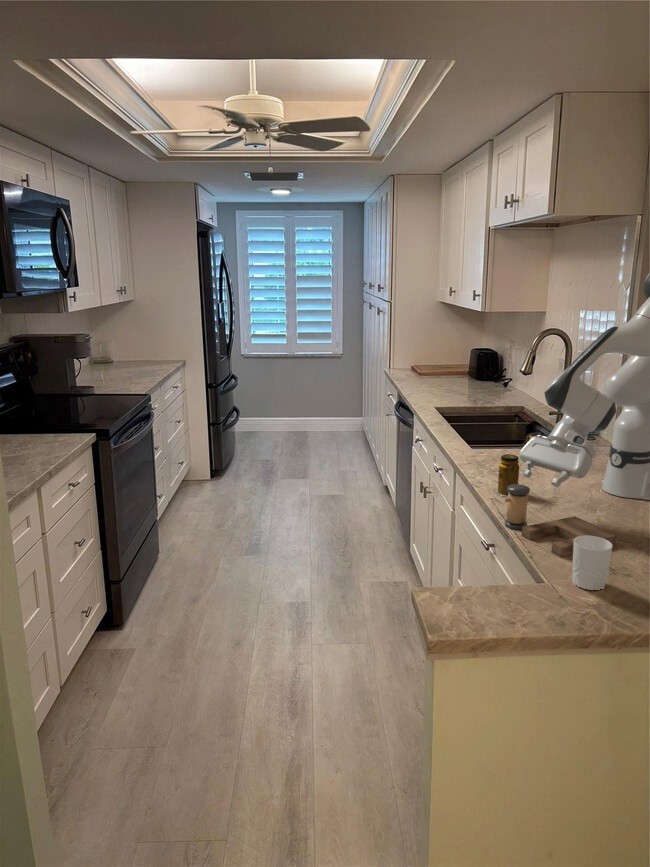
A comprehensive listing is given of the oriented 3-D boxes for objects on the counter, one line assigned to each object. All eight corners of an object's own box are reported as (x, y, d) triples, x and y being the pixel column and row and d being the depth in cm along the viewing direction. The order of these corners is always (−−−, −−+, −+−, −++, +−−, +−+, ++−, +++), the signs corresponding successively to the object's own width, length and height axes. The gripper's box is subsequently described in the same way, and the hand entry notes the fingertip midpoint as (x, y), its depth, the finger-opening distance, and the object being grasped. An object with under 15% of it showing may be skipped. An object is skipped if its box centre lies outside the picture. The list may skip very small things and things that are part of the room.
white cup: (615, 589, 137) (620, 547, 134) (585, 595, 135) (589, 552, 132) (591, 573, 144) (595, 533, 142) (562, 578, 142) (566, 537, 140)
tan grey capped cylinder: (517, 520, 175) (519, 483, 173) (531, 527, 170) (534, 489, 167) (496, 524, 173) (499, 486, 170) (510, 532, 167) (513, 493, 165)
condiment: (493, 489, 200) (495, 453, 197) (518, 488, 201) (521, 452, 198) (501, 497, 193) (504, 460, 190) (528, 496, 194) (530, 459, 191)
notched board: (574, 524, 172) (574, 516, 171) (615, 544, 159) (616, 535, 159) (521, 535, 165) (522, 526, 164) (560, 557, 153) (561, 547, 152)
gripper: (530, 427, 181) (505, 465, 178) (593, 442, 164) (567, 484, 161) (539, 439, 184) (514, 477, 181) (602, 455, 168) (576, 497, 165)
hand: (539, 480), depth 171 cm, fingers open, 8 cm apart
